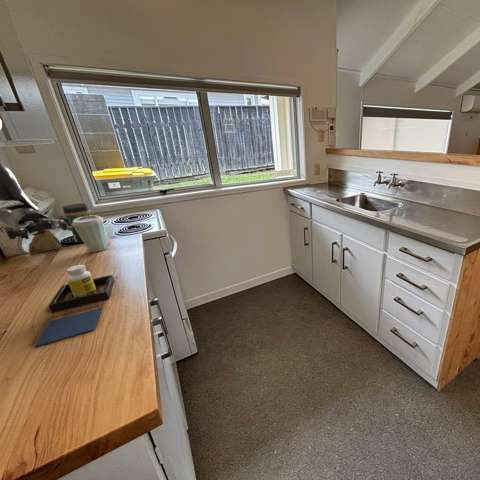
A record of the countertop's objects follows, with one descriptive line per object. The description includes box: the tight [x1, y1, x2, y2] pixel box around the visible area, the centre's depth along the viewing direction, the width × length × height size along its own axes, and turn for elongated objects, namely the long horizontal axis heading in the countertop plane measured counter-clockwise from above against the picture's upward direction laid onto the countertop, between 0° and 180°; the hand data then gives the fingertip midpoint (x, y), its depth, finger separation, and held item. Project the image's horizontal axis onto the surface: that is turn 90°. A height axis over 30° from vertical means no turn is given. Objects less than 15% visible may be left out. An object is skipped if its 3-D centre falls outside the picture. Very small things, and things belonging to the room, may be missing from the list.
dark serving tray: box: [48, 274, 115, 314], centre depth 80 cm, size 13×13×2 cm
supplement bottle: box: [66, 264, 98, 298], centre depth 79 cm, size 5×5×10 cm
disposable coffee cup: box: [72, 214, 108, 253], centre depth 115 cm, size 11×11×15 cm
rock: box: [28, 230, 63, 255], centre depth 117 cm, size 11×9×10 cm
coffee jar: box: [62, 202, 91, 244], centre depth 126 cm, size 10×8×19 cm
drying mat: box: [34, 307, 103, 348], centre depth 67 cm, size 11×11×1 cm
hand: (46, 231), depth 78 cm, fingers open, 8 cm apart
